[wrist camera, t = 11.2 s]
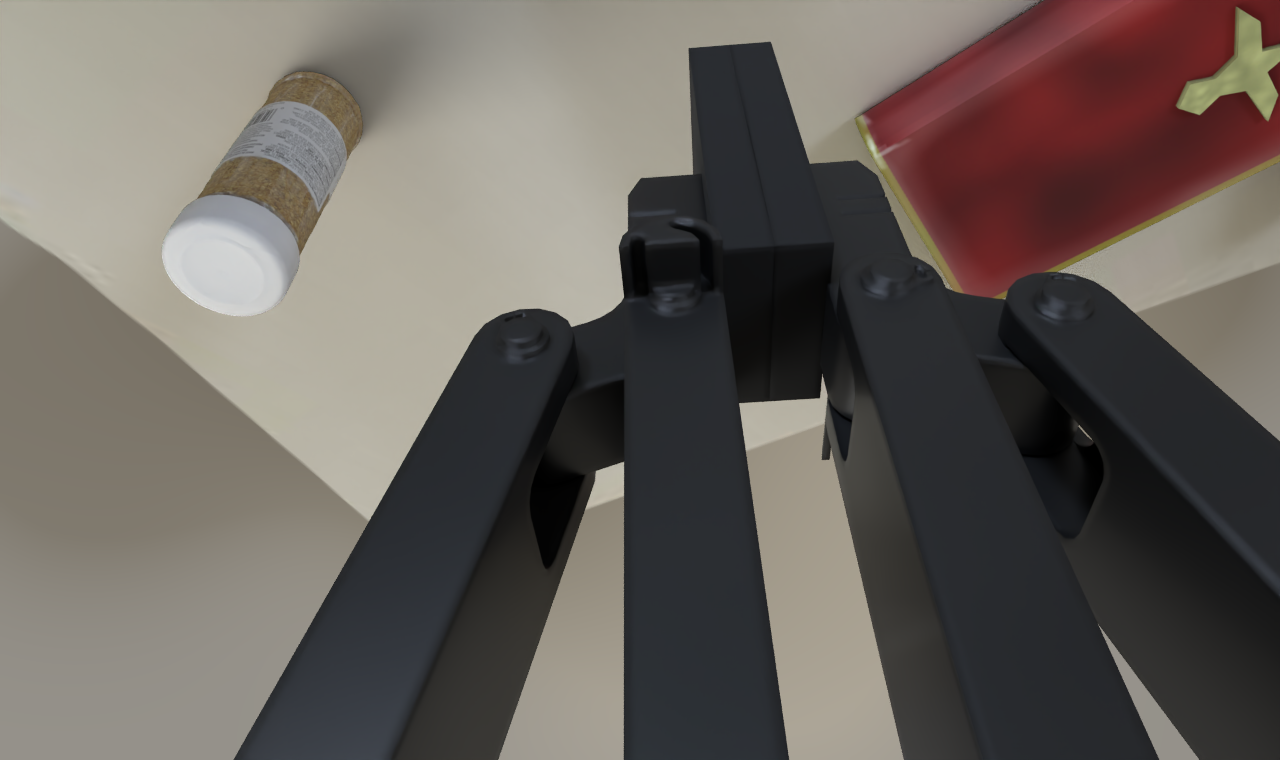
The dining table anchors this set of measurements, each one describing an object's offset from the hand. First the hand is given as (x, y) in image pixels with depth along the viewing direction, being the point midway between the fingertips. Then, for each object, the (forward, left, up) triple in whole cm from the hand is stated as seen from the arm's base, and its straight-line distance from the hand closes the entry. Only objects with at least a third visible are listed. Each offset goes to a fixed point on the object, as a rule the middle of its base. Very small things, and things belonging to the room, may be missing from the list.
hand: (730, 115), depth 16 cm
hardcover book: (+20, -12, -25) cm, 34 cm away
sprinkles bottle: (-18, -10, -25) cm, 32 cm away
